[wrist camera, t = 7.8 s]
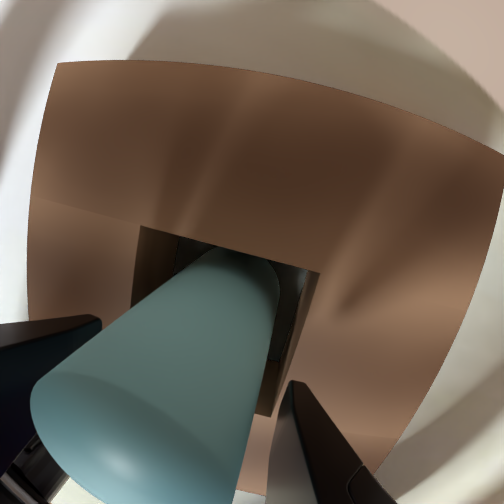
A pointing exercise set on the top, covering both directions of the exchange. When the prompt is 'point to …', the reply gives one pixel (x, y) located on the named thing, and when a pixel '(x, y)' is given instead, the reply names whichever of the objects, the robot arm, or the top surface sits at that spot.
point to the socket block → (268, 223)
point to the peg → (166, 388)
